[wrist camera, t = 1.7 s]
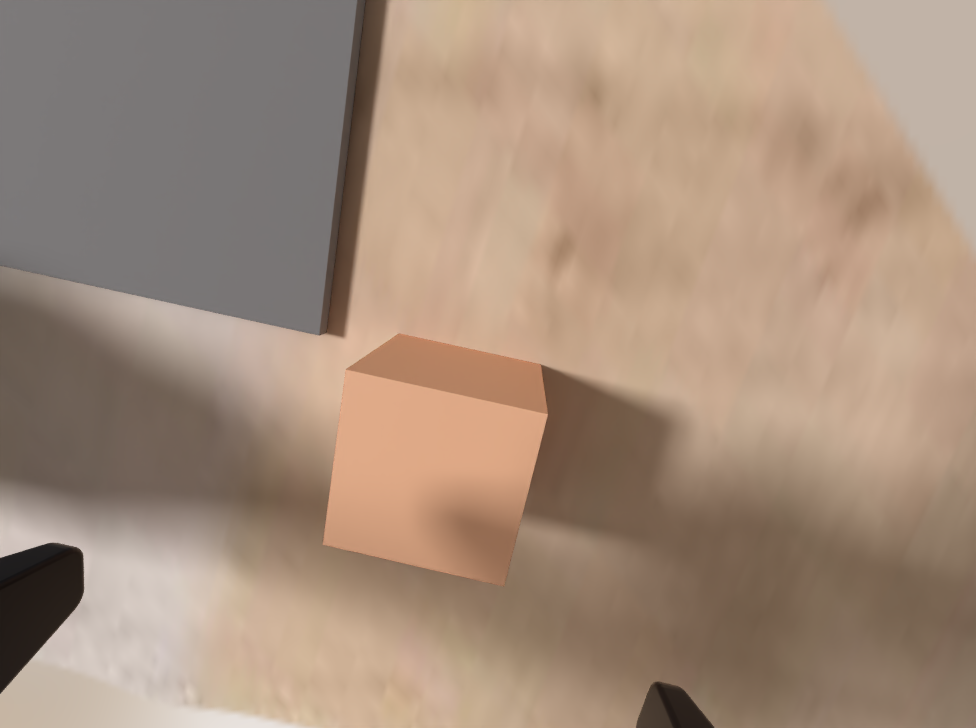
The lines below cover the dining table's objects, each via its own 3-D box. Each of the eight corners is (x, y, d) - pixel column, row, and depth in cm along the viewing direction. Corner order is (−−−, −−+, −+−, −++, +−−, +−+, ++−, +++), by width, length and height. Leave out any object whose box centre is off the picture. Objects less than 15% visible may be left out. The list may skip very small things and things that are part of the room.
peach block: (379, 461, 17) (322, 544, 12) (399, 333, 16) (345, 369, 11) (509, 491, 17) (504, 586, 12) (540, 364, 16) (548, 414, 11)
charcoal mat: (-56, 248, 16) (-78, 248, 16) (-104, -260, 13) (-134, -284, 12) (326, 332, 16) (319, 335, 15) (384, -165, 13) (378, -185, 12)
